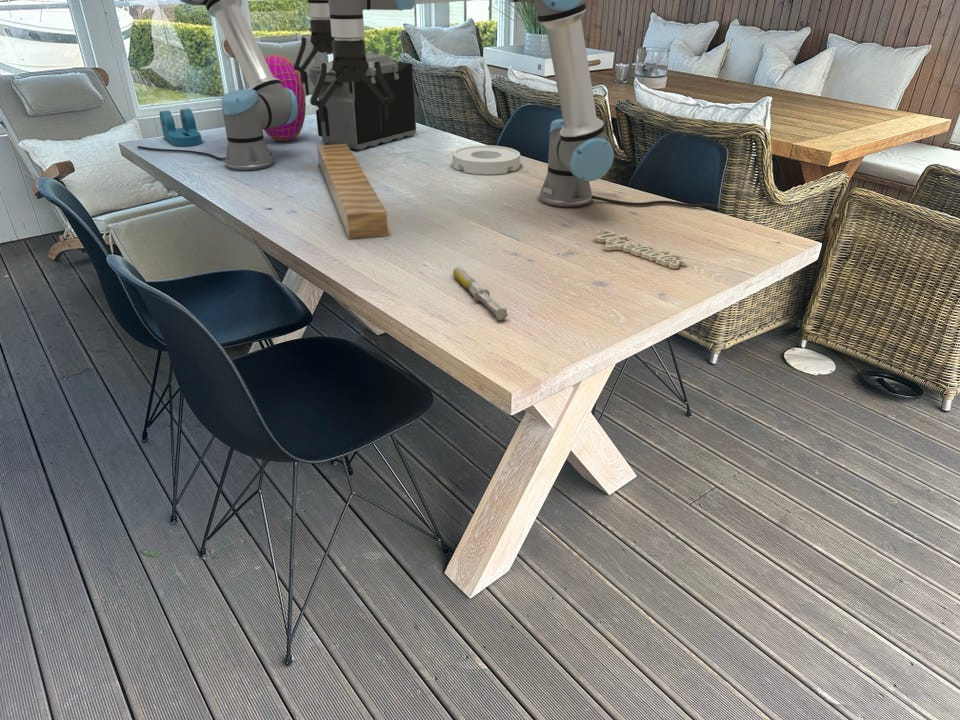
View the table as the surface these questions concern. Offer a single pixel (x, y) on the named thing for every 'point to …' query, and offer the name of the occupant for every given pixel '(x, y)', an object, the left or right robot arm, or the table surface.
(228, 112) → the left robot arm
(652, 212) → the table surface
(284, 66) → the decorative egg
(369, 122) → the electronic device
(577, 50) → the right robot arm
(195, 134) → the camera mount
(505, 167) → the ashtray
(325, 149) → the wooden beam
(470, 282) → the syringe
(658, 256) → the decorative sign
